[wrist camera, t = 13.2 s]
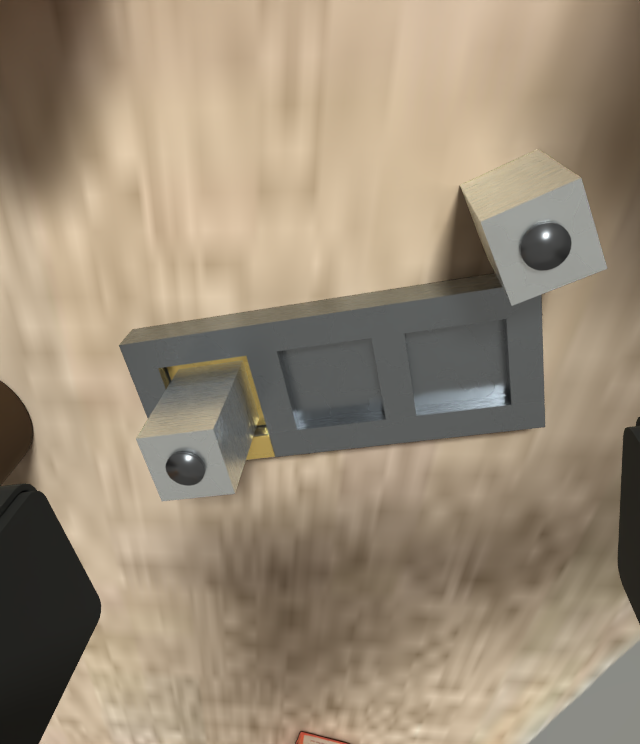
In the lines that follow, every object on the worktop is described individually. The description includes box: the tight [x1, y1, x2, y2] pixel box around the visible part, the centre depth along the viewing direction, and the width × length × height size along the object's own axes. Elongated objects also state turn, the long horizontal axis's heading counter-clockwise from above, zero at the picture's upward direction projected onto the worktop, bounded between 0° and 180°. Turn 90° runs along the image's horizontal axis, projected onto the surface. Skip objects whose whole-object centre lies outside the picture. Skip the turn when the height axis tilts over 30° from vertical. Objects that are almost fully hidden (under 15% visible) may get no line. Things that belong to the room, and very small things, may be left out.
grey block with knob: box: [136, 360, 259, 501], centre depth 37 cm, size 4×4×8 cm
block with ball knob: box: [460, 149, 607, 306], centre depth 31 cm, size 4×4×8 cm
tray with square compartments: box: [119, 273, 545, 460], centre depth 39 cm, size 26×10×2 cm, turn 101°
